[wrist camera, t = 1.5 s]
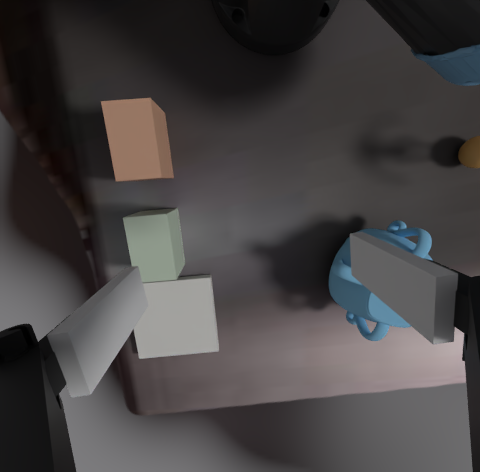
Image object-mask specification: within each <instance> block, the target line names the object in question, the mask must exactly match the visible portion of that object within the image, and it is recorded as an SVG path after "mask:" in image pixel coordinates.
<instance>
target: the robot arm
mask: <svg viewBox="0 0 480 472" xmlns="http://www.w3.org/2000/svg"><path fill="white" fill-rule="evenodd" d="M366 1H367V2H368V3H369V4H370V5H371V6H372V7H373V8H374V9H375V10H376V11H377V12H378V14H379V15H380V16H381V17H382V18H383V19H384V20H385V21H386V22H387V23H388V24H389V25H390V26H391V27H392V28H393V29H394V30H395V31H396V32H397V33H398V34H399V35H400V36H401V37H402V38H403V40H404V41H405V42H406V43H407V44H408V45H409V46H410V47H411V48H412V49H411V52H412V53H413V55H414V56H415V57H416V58H417V59H419V60H422V61H425V62H426V63H427V64H428V65H430V66H431V67H432V68H433V69H434V70H435V71H437V72H438V73H439V74H440V75H441V76H442V77H443V78H444V79H445V80H447V81H448V82H451V83H453V84H457V85H462V86H468V85H478V84H480V0H366ZM338 2H339V0H212V3H213V6H214V9H215V11H216V13H217V16H218V18H219V19H220V21H221V23H222V24H223V26H224V27H225V29H226V30H227V31H228V33H229V34H230V35H231V36H232V37H233V38H234V39H235V40H236V41H238V42H239V43H240V44H242V45H243V46H245V47H246V48H248V49H250V50H253V51H255V52H258V53H262V54H268V55H280V54H286V53H290V52H293V51H295V50H298V49H300V48H301V47H303V46H305V45H306V44H308V43H309V42H310V41H312V40H313V39H314V38H315V37H316V36H317V35H318V34H319V33H320V32H321V30H322V29H323V28H324V26H325V25H326V23H327V22H328V20H329V18H330V17H331V15H332V13H333V12H334V10H335V8H336V6H337V4H338ZM350 252H351V274H352V276H353V277H354V278H356V279H357V280H358V281H359V282H360V283H361V284H363V285H364V286H365V287H366V288H367V289H368V290H370V291H371V292H372V293H373V294H374V295H376V296H377V297H378V298H379V299H380V300H381V301H383V302H384V303H385V304H386V305H387V306H388V307H390V308H391V309H392V310H393V311H394V312H396V313H397V314H398V315H399V316H400V317H401V318H403V319H404V320H405V321H406V322H407V323H409V324H410V325H411V326H412V327H413V328H414V329H416V330H417V331H418V332H419V333H420V334H421V335H423V336H424V337H425V338H426V339H427V340H429V341H430V342H431V343H432V344H440V343H447V342H454V328H455V327H456V328H457V329H459V330H460V331H462V332H463V333H464V344H463V357H462V360H463V361H465V369H466V383H467V397H468V410H469V425H470V438H471V452H472V467H473V472H480V276H474V277H469V276H467V275H465V274H462V273H460V272H458V271H455V270H453V269H449V268H448V267H446V266H444V265H441V264H439V263H437V262H434V261H432V260H428V259H424V258H421V257H419V256H417V255H414V254H412V253H410V252H407V251H405V250H403V249H401V248H398V247H396V246H394V245H392V244H389V243H387V242H385V241H382V240H380V239H378V238H376V237H373V236H371V235H369V234H366V233H364V232H356V233H350ZM148 306H149V305H148V301H147V298H146V294H145V290H144V286H143V283H142V279H141V275H140V271H139V268H138V266H133V267H127V268H125V269H124V270H122V271H121V272H120V273H119V274H118V275H117V276H115V277H114V278H113V279H112V280H111V281H110V282H108V283H107V284H106V285H105V286H104V287H103V288H101V289H100V290H99V291H98V292H97V293H96V294H94V295H93V296H92V297H91V298H90V299H89V300H87V301H86V302H85V303H84V304H83V305H82V306H80V307H79V308H78V309H77V310H76V311H75V312H74V313H72V314H71V315H69V316H68V317H67V318H66V319H65V320H63V321H62V322H61V324H59V325H57V326H56V327H55V329H53V330H52V331H50V332H49V333H48V334H47V335H46V336H45V337H44V338H42V339H41V340H40V341H39V342H38V341H37V339H36V336H35V333H34V331H33V328H32V326H31V325H30V324H21V325H17V326H14V327H11V328H8V329H5V330H3V331H1V332H0V472H76V468H75V463H74V458H73V453H72V448H71V443H70V438H69V433H68V429H67V423H66V419H65V413H64V409H63V404H62V400H61V398H60V395H59V393H60V392H61V390H62V389H63V388H64V387H65V385H66V386H67V388H68V391H69V393H70V396H71V397H78V396H85V395H91V393H92V392H93V390H94V389H95V387H96V386H97V384H98V383H99V381H100V380H101V378H102V376H103V375H104V373H105V372H106V370H107V369H108V367H109V366H110V364H111V363H112V361H113V359H114V358H115V357H116V355H117V354H118V352H119V350H120V349H121V347H122V346H123V344H124V343H125V341H126V340H127V338H128V337H129V335H130V334H131V332H132V330H133V329H134V327H135V326H136V324H137V323H138V321H139V320H140V318H141V317H142V315H143V314H144V312H145V311H146V309H147V307H148Z"/></svg>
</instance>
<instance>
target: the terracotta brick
mask: <svg viewBox="0 0 480 472" xmlns="http://www.w3.org/2000/svg"><path fill="white" fill-rule="evenodd" d="M101 104H102V109H103V115H104V120H105V125H106V131H107V136H108V141H109V147H110V152H111V157H112V163H113V168H114V173H115V179H116V181H143V180H156V179H168V178H174V176H173V169H172V162H171V154H170V147H169V139H168V132H167V125H166V117H165V113H164V112H163V111H162V109H161V108H160V107H159V106H158V105H157V104H156V103H155V102H154V101H153V100H152V99H151V98H141V99H127V100H114V101H101Z"/></svg>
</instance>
